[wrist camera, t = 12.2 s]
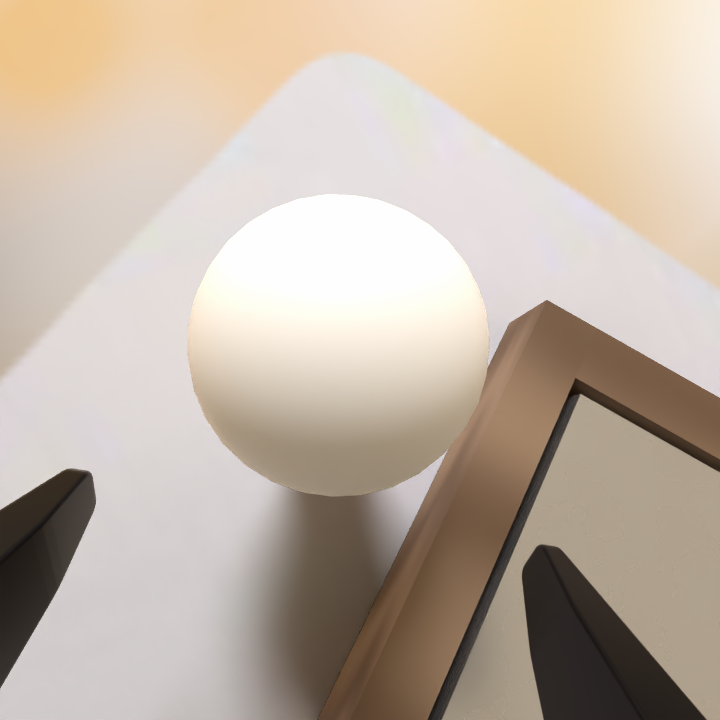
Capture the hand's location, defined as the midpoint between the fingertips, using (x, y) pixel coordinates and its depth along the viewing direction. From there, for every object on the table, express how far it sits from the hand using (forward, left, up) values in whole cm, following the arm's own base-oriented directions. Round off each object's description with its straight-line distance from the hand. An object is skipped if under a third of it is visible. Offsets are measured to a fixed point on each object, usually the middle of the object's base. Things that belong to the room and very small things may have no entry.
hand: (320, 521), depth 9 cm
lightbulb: (+3, +1, -8) cm, 9 cm away
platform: (+1, -12, -7) cm, 14 cm away
